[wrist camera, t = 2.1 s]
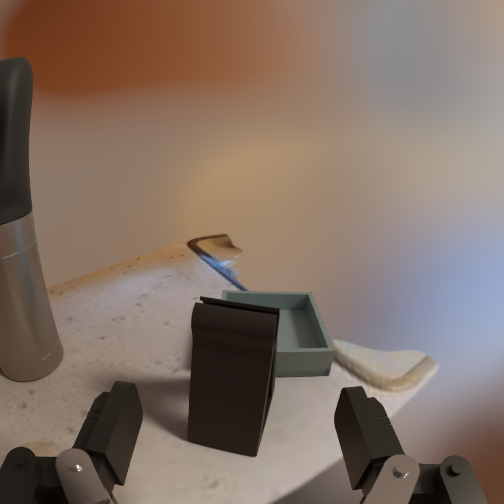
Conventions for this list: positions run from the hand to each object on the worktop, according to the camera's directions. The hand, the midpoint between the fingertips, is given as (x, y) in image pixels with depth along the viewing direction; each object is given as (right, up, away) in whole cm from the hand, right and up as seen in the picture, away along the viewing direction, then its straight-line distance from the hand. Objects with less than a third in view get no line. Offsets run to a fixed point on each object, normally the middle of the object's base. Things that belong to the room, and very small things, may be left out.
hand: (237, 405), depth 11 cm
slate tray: (+3, -5, +27) cm, 28 cm away
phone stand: (-1, -9, +16) cm, 18 cm away
